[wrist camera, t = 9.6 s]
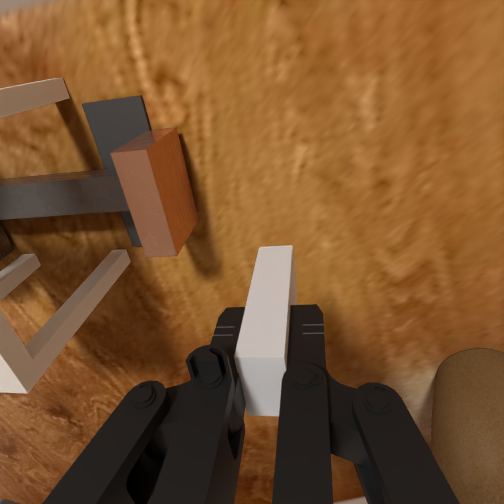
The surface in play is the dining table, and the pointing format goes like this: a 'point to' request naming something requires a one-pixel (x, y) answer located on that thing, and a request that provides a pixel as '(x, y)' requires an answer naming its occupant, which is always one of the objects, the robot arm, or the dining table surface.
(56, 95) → the white mini stool
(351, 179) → the dining table surface
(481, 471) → the plant pot
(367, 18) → the dining table surface
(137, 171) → the long-handled tray
